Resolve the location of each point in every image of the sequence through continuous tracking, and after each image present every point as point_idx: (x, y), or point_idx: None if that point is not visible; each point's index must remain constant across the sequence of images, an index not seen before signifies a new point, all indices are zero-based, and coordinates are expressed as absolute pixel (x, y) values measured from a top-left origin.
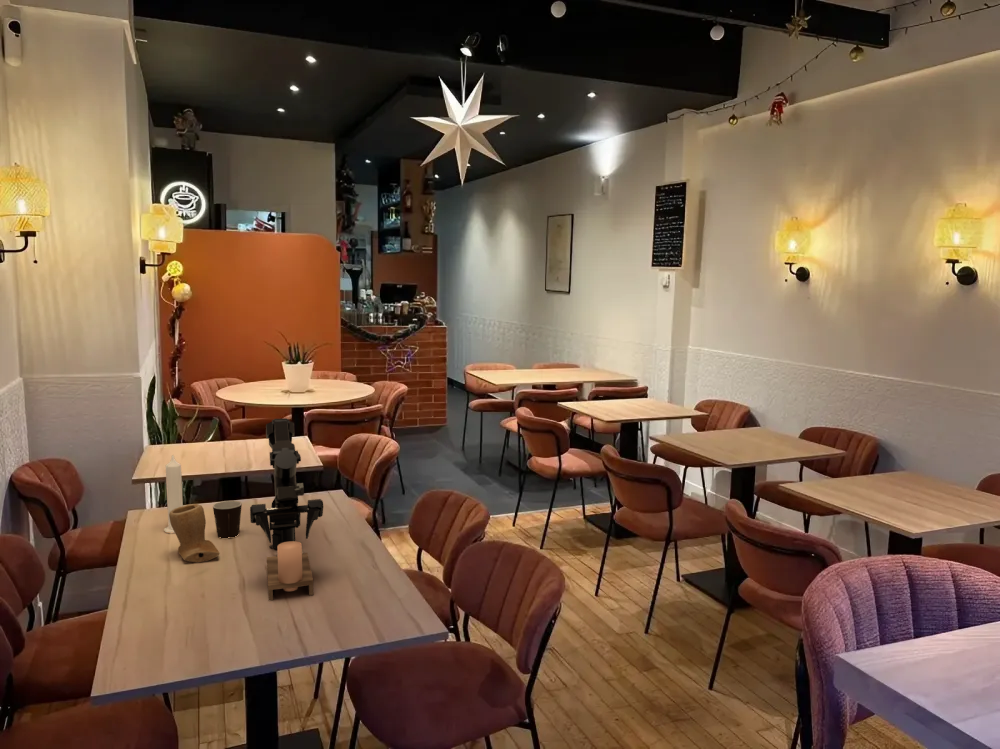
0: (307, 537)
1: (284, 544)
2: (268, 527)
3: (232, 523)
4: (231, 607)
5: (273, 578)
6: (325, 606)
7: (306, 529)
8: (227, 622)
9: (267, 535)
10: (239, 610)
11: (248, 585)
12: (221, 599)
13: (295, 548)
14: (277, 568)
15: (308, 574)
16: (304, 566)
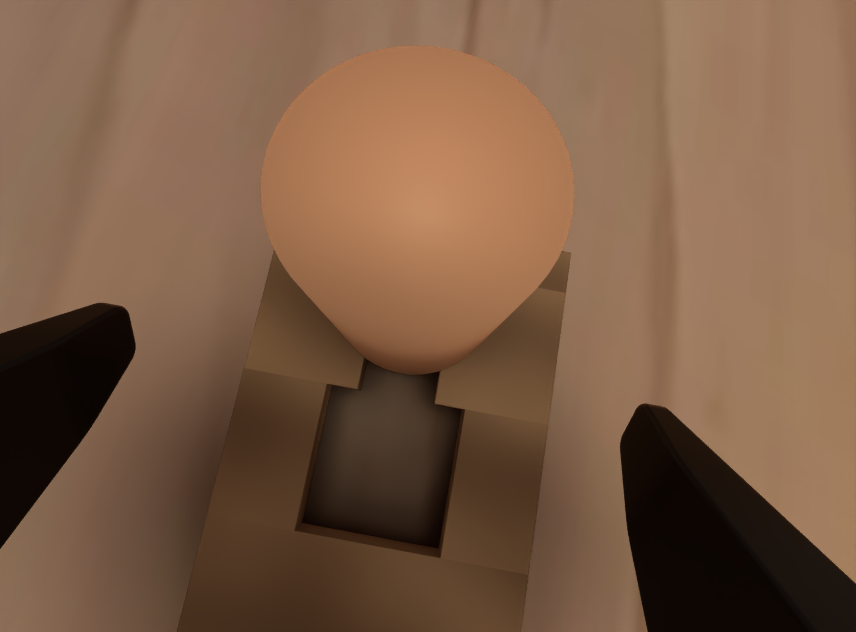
0: (109, 308)
1: (472, 244)
2: (808, 601)
3: None
4: (733, 293)
5: (519, 353)
6: (297, 83)
7: (9, 358)
8: (757, 140)
9: (732, 482)
10: (697, 239)
11: (621, 561)
12: (781, 424)
13: (379, 52)
14: (456, 535)
15: (283, 307)
16: (260, 475)
